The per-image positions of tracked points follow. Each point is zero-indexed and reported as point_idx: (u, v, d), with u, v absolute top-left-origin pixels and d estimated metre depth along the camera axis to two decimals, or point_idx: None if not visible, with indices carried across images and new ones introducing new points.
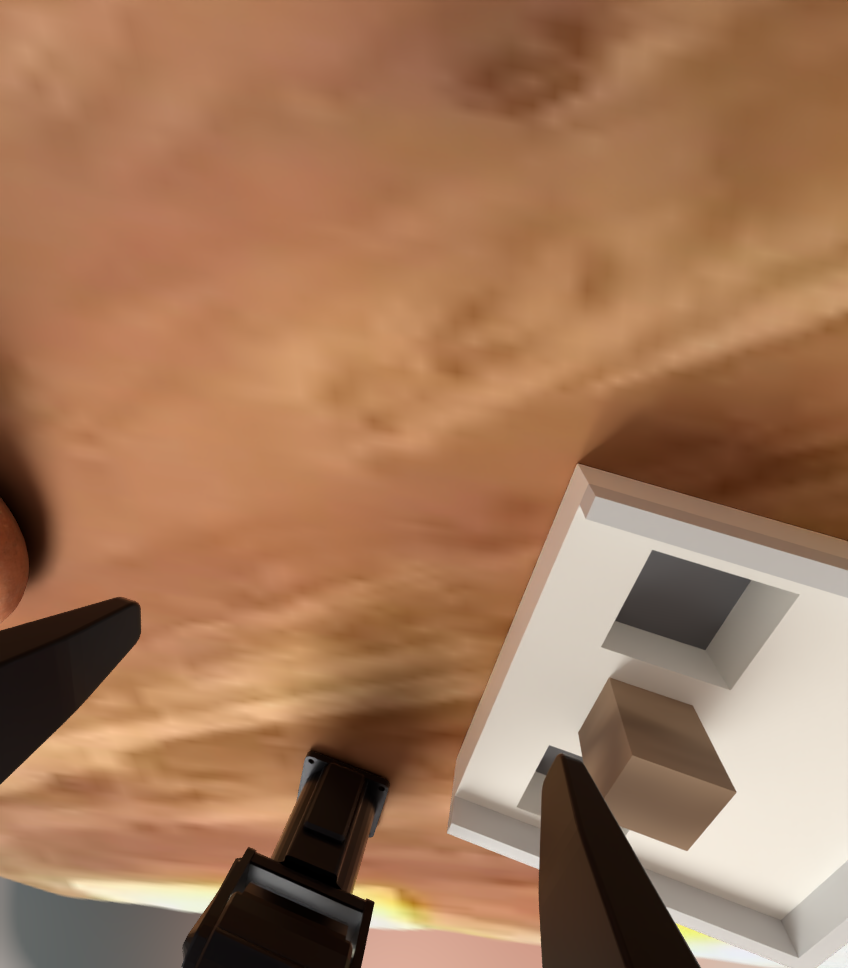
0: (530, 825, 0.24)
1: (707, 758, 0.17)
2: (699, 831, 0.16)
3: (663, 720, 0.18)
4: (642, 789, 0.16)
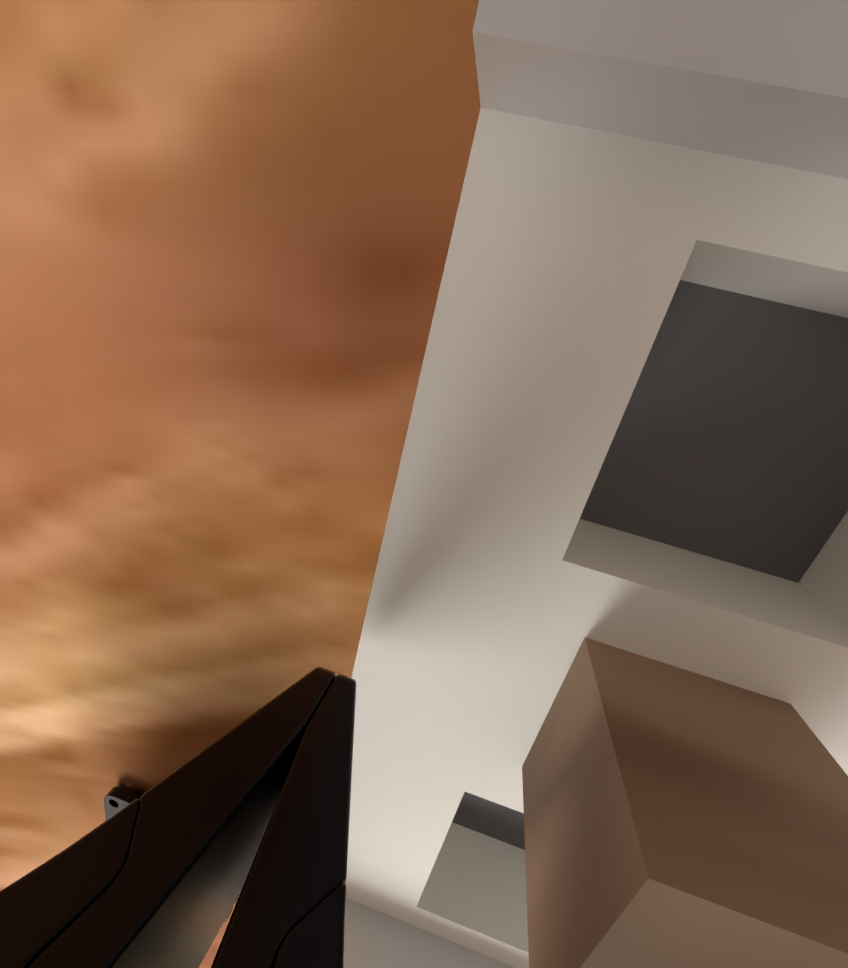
0: (446, 942, 0.12)
1: None
2: None
3: (729, 744, 0.07)
4: None
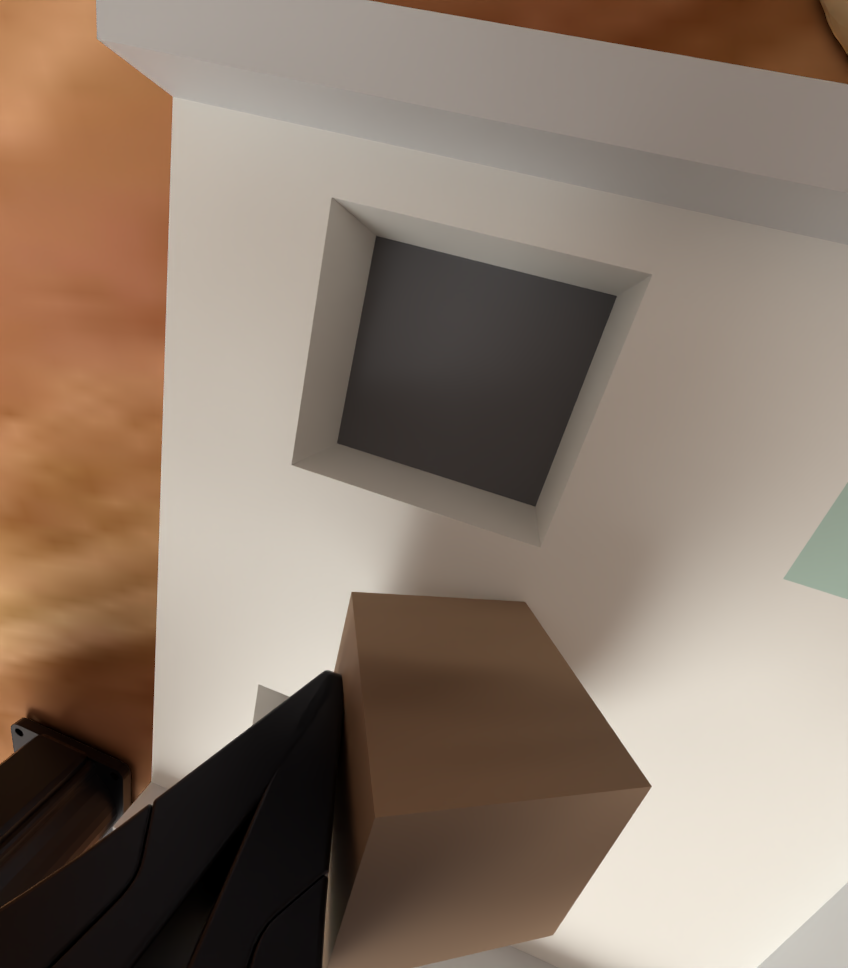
0: None
1: (572, 714, 0.07)
2: (574, 892, 0.07)
3: (471, 654, 0.07)
4: (430, 880, 0.05)
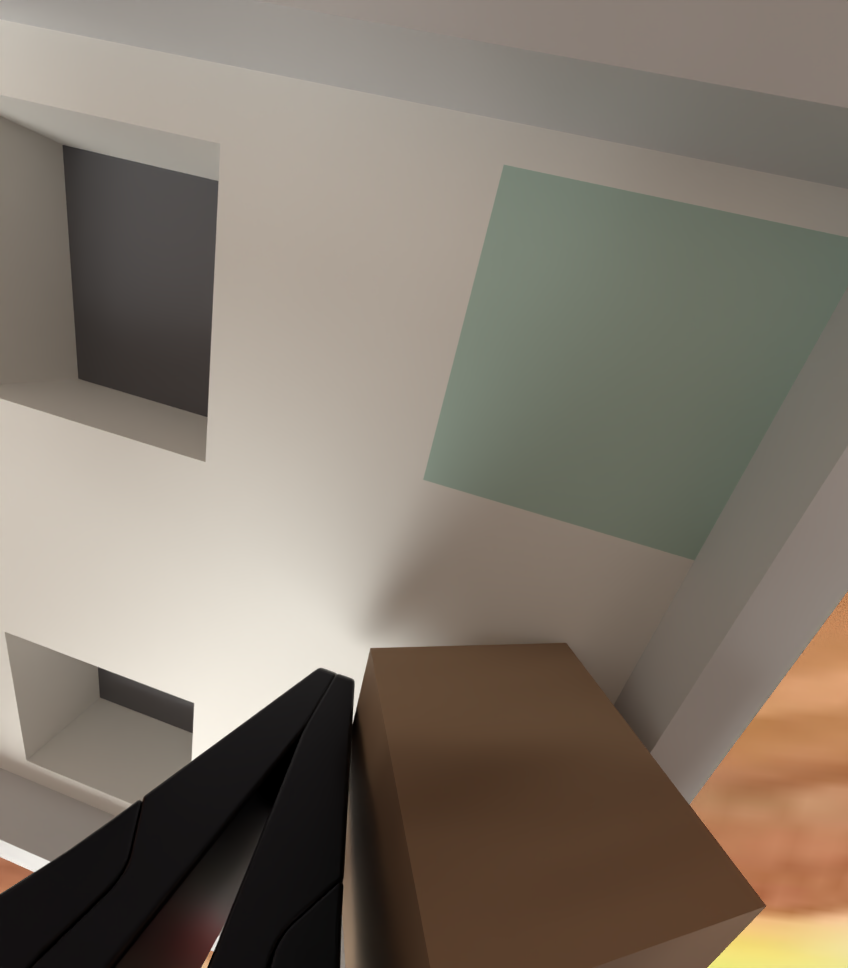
0: (58, 794, 0.14)
1: (650, 803, 0.05)
2: None
3: (519, 724, 0.06)
4: None
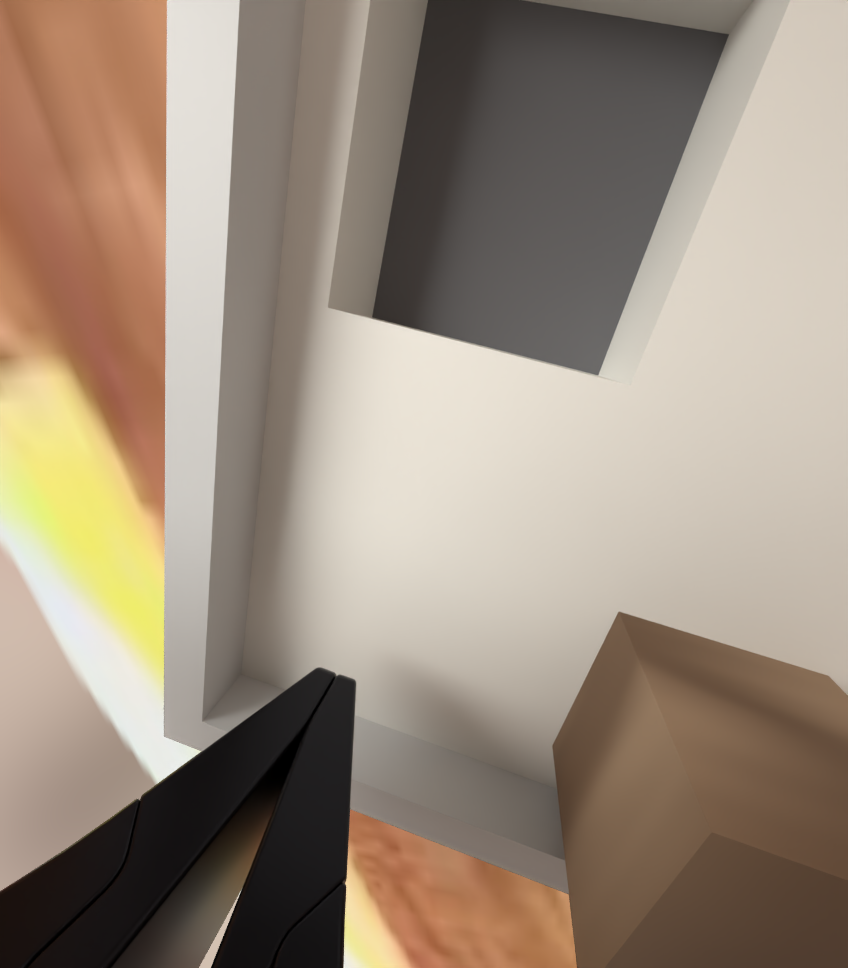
0: None
1: None
2: None
3: None
4: None
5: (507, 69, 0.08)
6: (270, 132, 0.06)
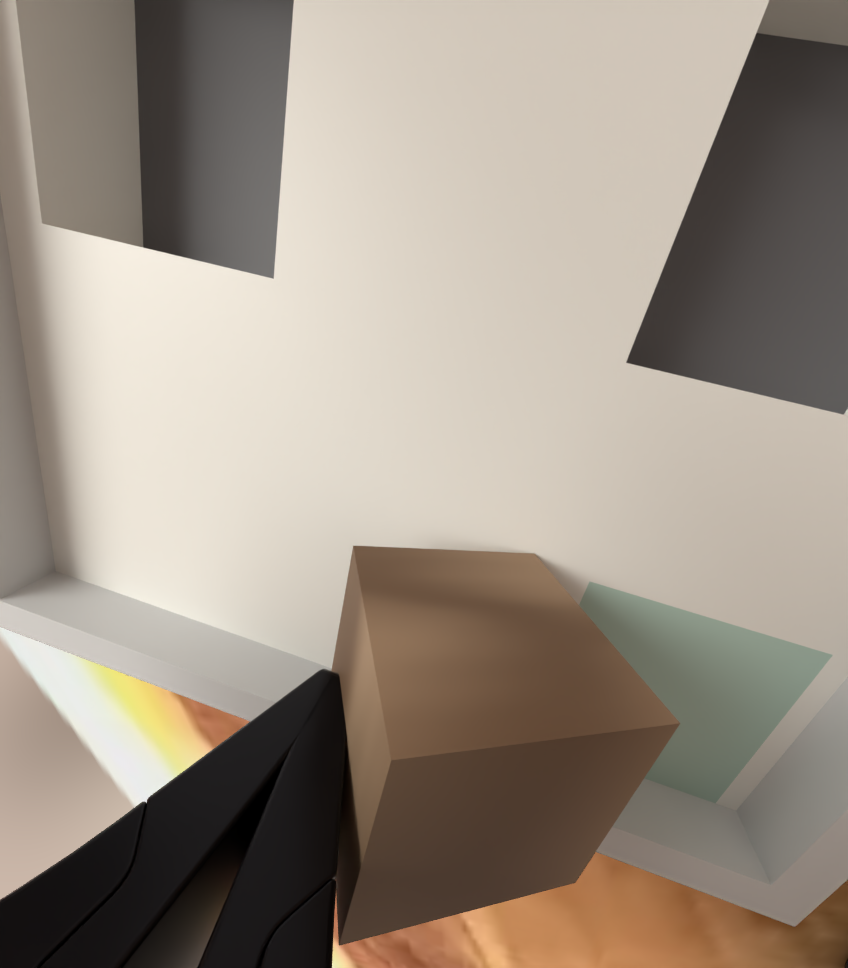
0: None
1: None
2: (433, 917, 0.06)
3: None
4: (557, 789, 0.05)
5: (205, 17, 0.09)
6: None
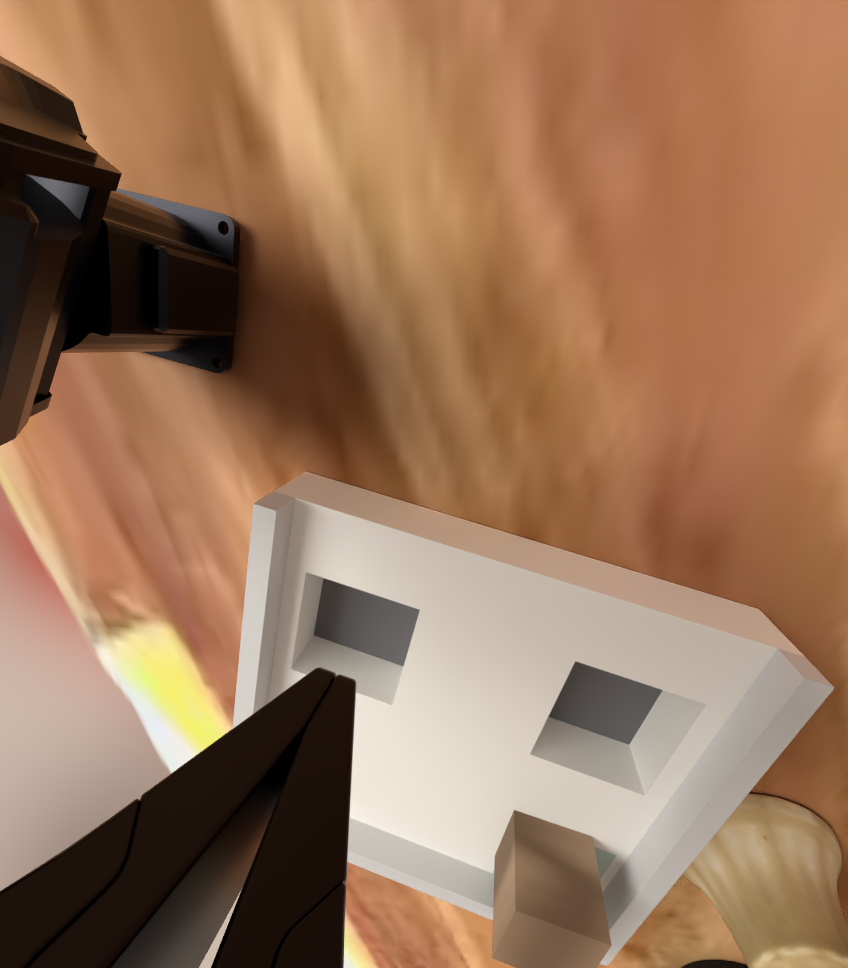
0: (282, 587, 0.19)
1: None
2: None
3: None
4: (565, 945, 0.17)
5: None
6: (270, 637, 0.19)
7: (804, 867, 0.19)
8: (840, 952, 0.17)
